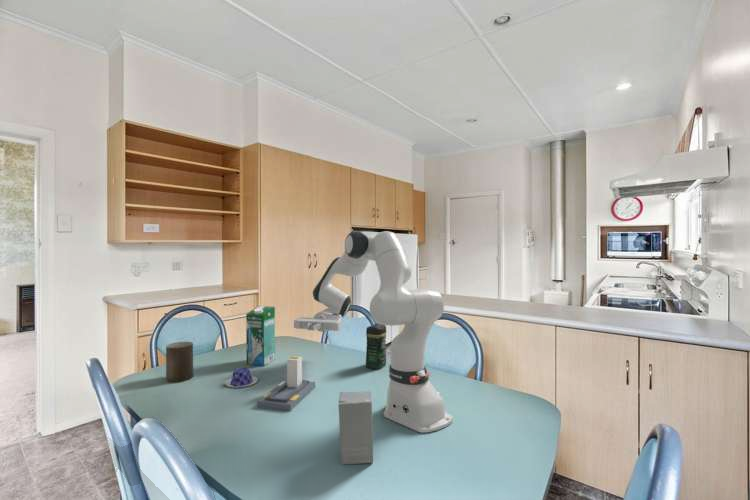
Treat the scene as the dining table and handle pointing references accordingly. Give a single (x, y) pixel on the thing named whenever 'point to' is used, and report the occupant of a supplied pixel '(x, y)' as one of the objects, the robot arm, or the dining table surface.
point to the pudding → (241, 378)
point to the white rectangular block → (294, 371)
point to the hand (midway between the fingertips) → (310, 328)
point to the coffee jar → (376, 346)
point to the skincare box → (355, 428)
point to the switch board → (286, 396)
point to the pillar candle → (179, 361)
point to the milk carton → (260, 335)
